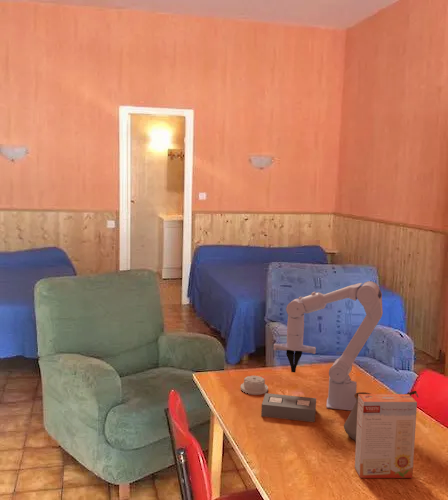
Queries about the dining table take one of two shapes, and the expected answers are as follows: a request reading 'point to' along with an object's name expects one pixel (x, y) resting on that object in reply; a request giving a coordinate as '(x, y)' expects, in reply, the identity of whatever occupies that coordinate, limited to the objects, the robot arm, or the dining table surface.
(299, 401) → the pink matte cube
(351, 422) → the coffee pot
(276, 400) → the greyish pink cube
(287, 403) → the block
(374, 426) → the cracker box
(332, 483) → the dining table surface
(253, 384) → the mechanical component
